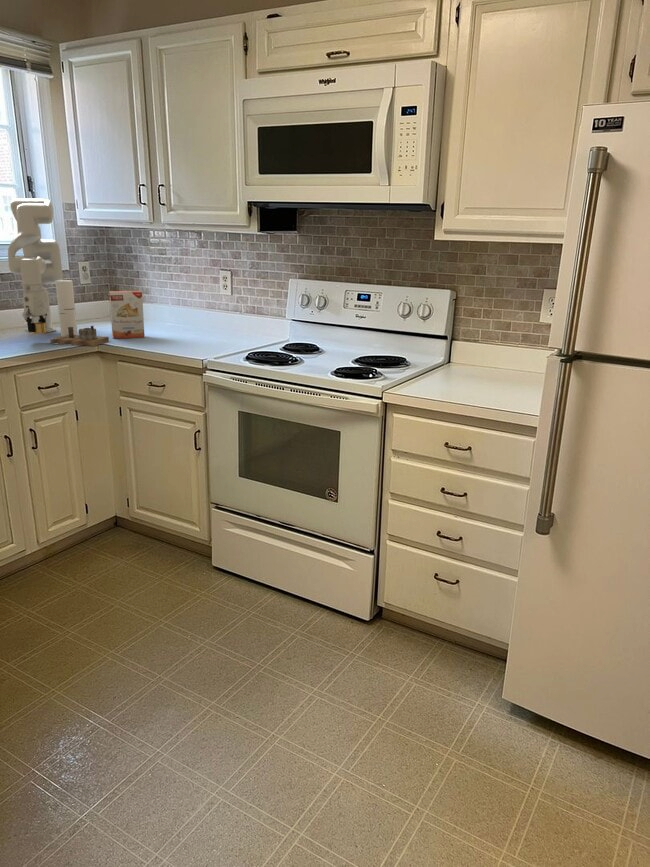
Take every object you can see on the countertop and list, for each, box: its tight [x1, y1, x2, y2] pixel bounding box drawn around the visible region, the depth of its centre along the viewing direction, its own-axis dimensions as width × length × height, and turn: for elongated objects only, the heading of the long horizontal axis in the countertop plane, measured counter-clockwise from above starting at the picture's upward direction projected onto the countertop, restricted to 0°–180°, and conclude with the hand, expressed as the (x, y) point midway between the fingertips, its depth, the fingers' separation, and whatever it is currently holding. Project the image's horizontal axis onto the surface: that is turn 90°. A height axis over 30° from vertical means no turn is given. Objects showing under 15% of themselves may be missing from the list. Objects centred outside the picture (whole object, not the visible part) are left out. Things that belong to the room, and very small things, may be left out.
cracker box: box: [108, 290, 145, 340], centre depth 294 cm, size 14×6×21 cm, turn 112°
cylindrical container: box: [55, 279, 79, 337], centre depth 293 cm, size 7×7×25 cm
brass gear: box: [28, 322, 48, 335], centre depth 278 cm, size 7×7×4 cm
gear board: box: [50, 325, 110, 347], centre depth 280 cm, size 20×13×8 cm, turn 79°
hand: (37, 330), depth 278 cm, fingers closed on brass gear, 7 cm apart
